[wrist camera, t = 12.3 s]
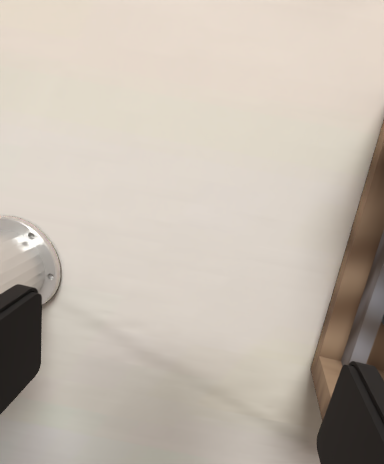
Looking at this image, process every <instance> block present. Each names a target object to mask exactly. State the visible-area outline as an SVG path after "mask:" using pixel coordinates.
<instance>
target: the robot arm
mask: <svg viewBox="0 0 384 464" xmlns="http://www.w3.org/2000/svg"><path fill="white" fill-rule="evenodd" d="M59 282H60V264H59V259H58V256H57V254H56V251H55V249H54V247H53V246H52V244H51V242H50V241H49V240H48V238H47V237H46V236H45V234H43V233H42V232H41V231H40V230H39V229H38V228H37V227H35V226H34V225H32V224H31V223H29V222H27V221H25V220H23V219H21V218H17V217H13V216H1V217H0V414H1V413H2V412H3V411H4V410H5V409H6V408H7V407H8V406H9V404H10V403H11V402H12V401H13V400H14V399H15V398H16V397H17V396H18V394H19V393H20V392H21V391H22V390H23V389H24V388H25V387H26V386H27V384H28V383H29V382H30V381H31V380H32V379H33V378H34V377H35V375H36V374H37V372H38V371H39V368H40V364H41V320H42V305H43V304H45V303H46V302H47V301H48V300H50V299H51V298H52V297H53V295H54V294H55V293H56V291H57V288H58V286H59ZM317 450H318V454H319V458H320V462H321V464H384V380H383V378H382V377H381V375H380V373H379V372H378V370H377V368H376V367H375V366H373V365H368V364H364V363H360V362H355V361H351V362H350V363H349V365H343V366H342V369H341V371H340V374H339V377H338V380H337V382H336V385H335V388H334V391H333V394H332V396H331V399H330V402H329V405H328V408H327V410H326V413H325V416H324V419H323V422H322V424H321V427H320V430H319V433H318V436H317Z"/></svg>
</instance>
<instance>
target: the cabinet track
mask: <svg viewBox="0 0 384 464" xmlns="http://www.w3.org/2000/svg"><path fill="white" fill-rule="evenodd" d="M383 315H384V121H383V124H382V128H381V131H380V134H379V138H378V141H377V145H376V148H375V152H374V155H373V158H372V162H371V165H370V169H369V172H368V175H367V179H366V182H365V186H364V189H363V192H362V196H361V199H360V203H359V206H358V209H357V213H356V216H355V220H354V223H353V226H352V230H351V233H350V237H349V240H348V243H347V247H346V250H345V254H344V257H343V260H342V264H341V267H340V271H339V274H338V278H337V281H336V284H335V288H334V291H333V295H332V298H331V301H330V305H329V308H328V312H327V315H326V318H325V322H324V325H323V329H322V332H321V335H320V339H319V342H318V346H317V349H316V352H315V356H314V359H313V363H312V366H311V373H312V377H313V382H314V386H315V390H316V395H317V399H318V403H319V408H320V412H321V417H322V421H323V419H324V416H325V413H326V410H327V408H328V405H329V402H330V399H331V396H332V394H333V391H334V388H335V385H336V382H337V380H338V377H339V374H340V371H341V369H342V366H343V365H349V363H350V362H351V361H355V362H360V363H364V364H368V365H373V366H375V367H376V368H377V370H378V372H379V373H380V375H381V377H382V378H383V380H384V325H383V323H382V322H381V321H382V318H383Z"/></svg>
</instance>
